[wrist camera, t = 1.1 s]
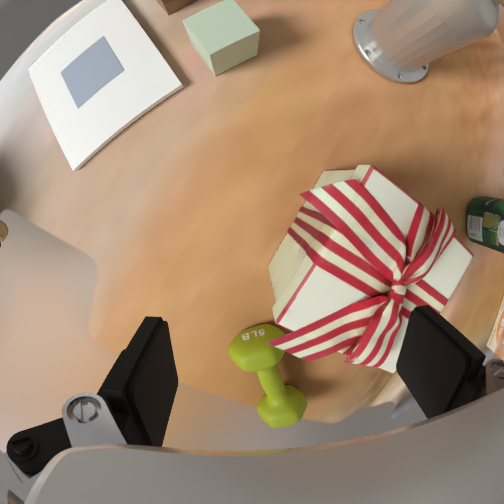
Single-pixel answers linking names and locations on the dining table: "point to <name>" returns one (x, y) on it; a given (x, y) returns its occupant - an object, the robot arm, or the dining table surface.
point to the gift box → (361, 268)
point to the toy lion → (3, 231)
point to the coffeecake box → (498, 334)
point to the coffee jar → (486, 222)
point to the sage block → (223, 35)
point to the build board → (100, 80)
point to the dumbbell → (268, 375)
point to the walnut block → (174, 5)
